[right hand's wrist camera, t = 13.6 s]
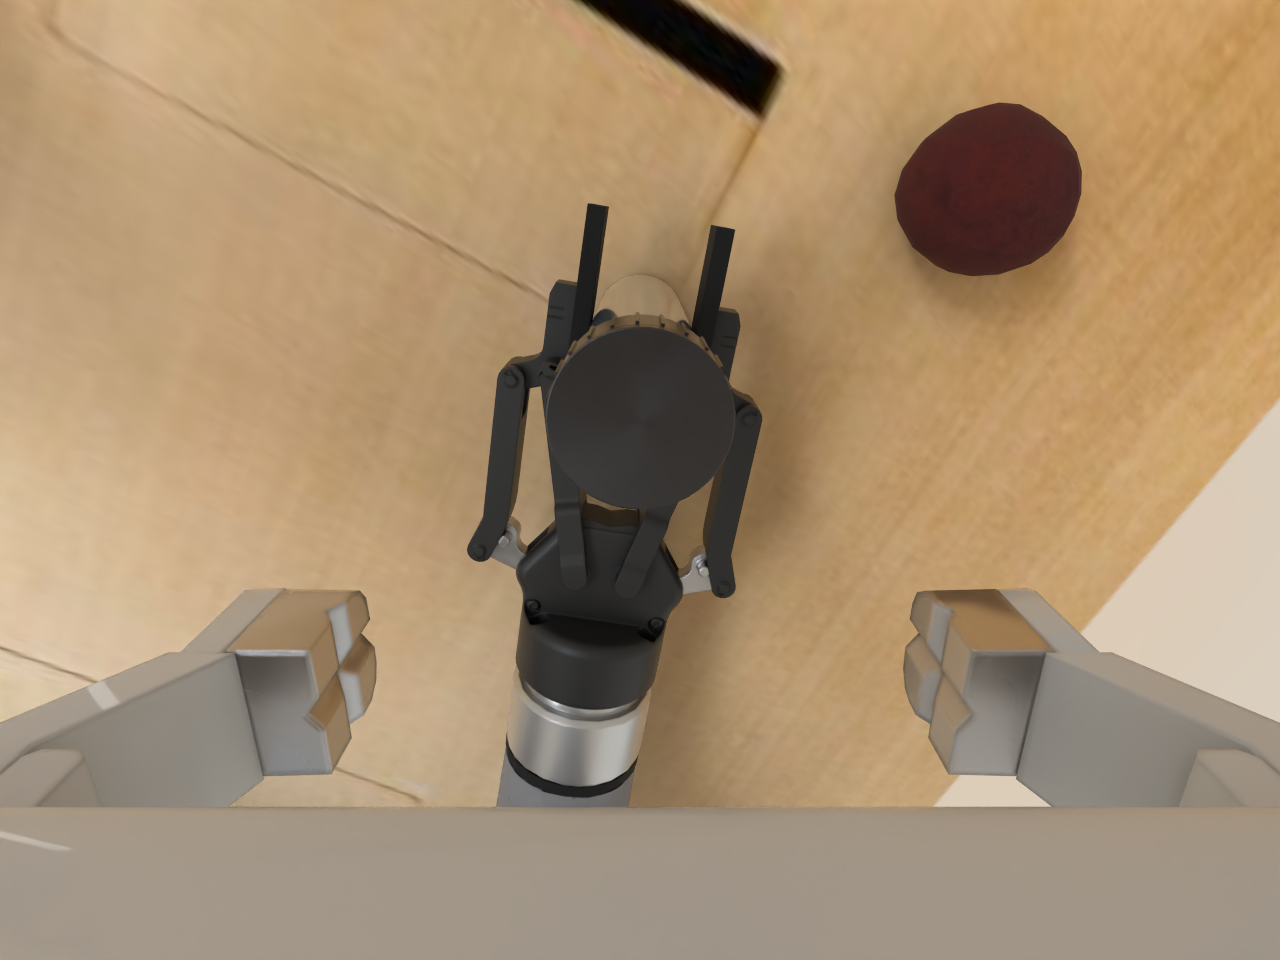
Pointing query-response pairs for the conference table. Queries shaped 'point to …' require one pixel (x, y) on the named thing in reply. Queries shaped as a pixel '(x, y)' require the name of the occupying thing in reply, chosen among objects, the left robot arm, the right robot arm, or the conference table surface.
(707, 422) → the lid
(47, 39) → the conference table surface
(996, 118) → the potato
